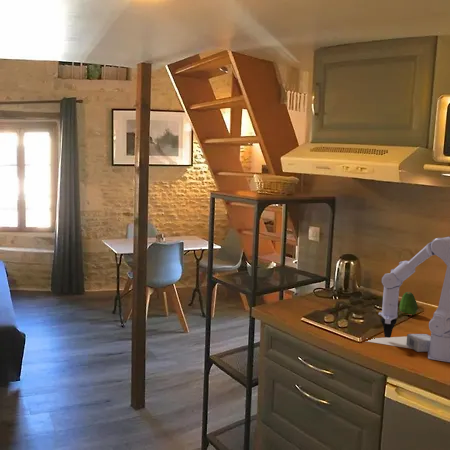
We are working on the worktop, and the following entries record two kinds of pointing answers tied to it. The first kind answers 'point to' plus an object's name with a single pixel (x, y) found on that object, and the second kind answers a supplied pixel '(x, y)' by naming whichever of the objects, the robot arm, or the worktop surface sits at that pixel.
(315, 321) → the worktop surface
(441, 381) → the worktop surface
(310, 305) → the worktop surface
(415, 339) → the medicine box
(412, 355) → the worktop surface
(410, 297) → the avocado
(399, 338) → the card
